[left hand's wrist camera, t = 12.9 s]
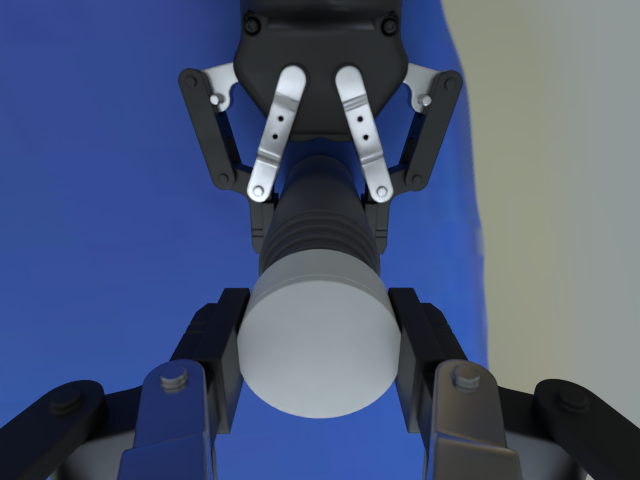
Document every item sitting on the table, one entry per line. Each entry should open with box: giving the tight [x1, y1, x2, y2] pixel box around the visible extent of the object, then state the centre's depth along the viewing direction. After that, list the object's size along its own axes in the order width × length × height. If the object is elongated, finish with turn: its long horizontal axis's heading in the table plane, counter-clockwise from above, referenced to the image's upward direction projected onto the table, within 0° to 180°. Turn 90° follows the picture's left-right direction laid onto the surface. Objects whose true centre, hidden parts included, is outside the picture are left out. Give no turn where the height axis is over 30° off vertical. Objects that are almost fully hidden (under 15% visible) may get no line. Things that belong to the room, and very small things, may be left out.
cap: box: [237, 249, 401, 418], centre depth 11 cm, size 4×4×2 cm
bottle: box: [259, 155, 380, 278], centre depth 19 cm, size 5×5×18 cm
